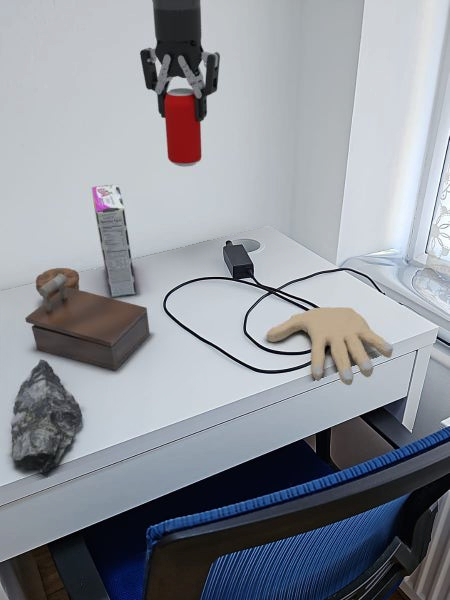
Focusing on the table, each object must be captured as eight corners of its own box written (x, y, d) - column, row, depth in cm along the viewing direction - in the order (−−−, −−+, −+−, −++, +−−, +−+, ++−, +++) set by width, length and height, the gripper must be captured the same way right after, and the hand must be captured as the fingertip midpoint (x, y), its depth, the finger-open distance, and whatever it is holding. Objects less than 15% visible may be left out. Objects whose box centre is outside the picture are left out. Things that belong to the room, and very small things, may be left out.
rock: (6, 352, 84) (14, 375, 87) (3, 459, 68) (13, 483, 71) (70, 340, 86) (76, 363, 89) (82, 442, 70) (89, 467, 73)
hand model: (381, 302, 97) (399, 359, 80) (379, 327, 99) (396, 388, 82) (268, 303, 99) (263, 359, 82) (269, 328, 101) (263, 387, 85)
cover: (26, 322, 90) (19, 294, 86) (66, 290, 97) (61, 263, 94) (111, 347, 85) (107, 318, 82) (147, 311, 93) (144, 284, 89)
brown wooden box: (37, 349, 93) (31, 326, 90) (76, 316, 100) (71, 294, 97) (115, 370, 88) (111, 347, 85) (149, 334, 95) (147, 312, 93)
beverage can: (208, 163, 107) (206, 91, 99) (181, 171, 104) (177, 97, 96) (188, 155, 110) (185, 85, 103) (161, 162, 107) (156, 90, 100)
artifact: (40, 294, 106) (34, 269, 103) (82, 288, 107) (77, 264, 104) (40, 316, 100) (34, 290, 97) (84, 309, 102) (79, 284, 98)
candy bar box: (104, 270, 113) (90, 186, 102) (130, 267, 114) (119, 183, 103) (109, 299, 104) (94, 210, 94) (137, 295, 105) (125, 206, 95)
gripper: (228, 3, 92) (228, 117, 103) (148, 0, 96) (157, 109, 107) (208, 9, 87) (210, 128, 97) (125, 5, 91) (136, 120, 102)
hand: (182, 118), depth 102 cm, fingers closed on beverage can, 6 cm apart
